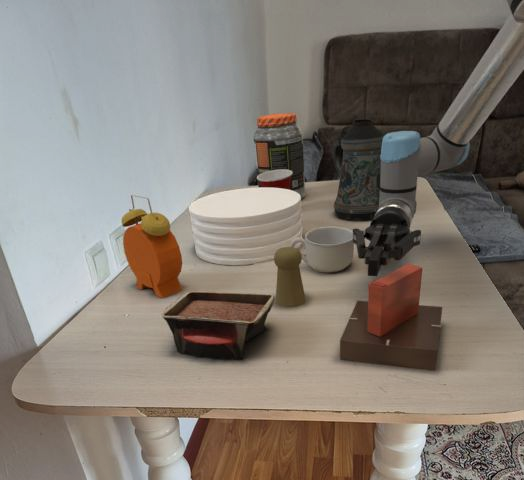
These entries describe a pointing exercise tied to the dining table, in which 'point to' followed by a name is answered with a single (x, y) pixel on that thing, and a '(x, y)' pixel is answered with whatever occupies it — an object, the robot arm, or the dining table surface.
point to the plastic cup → (276, 179)
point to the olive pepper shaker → (289, 277)
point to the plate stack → (245, 224)
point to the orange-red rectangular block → (393, 299)
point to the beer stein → (358, 171)
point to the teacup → (327, 248)
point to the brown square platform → (393, 340)
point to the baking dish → (217, 322)
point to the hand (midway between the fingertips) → (372, 268)
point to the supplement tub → (280, 148)
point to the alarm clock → (152, 251)
